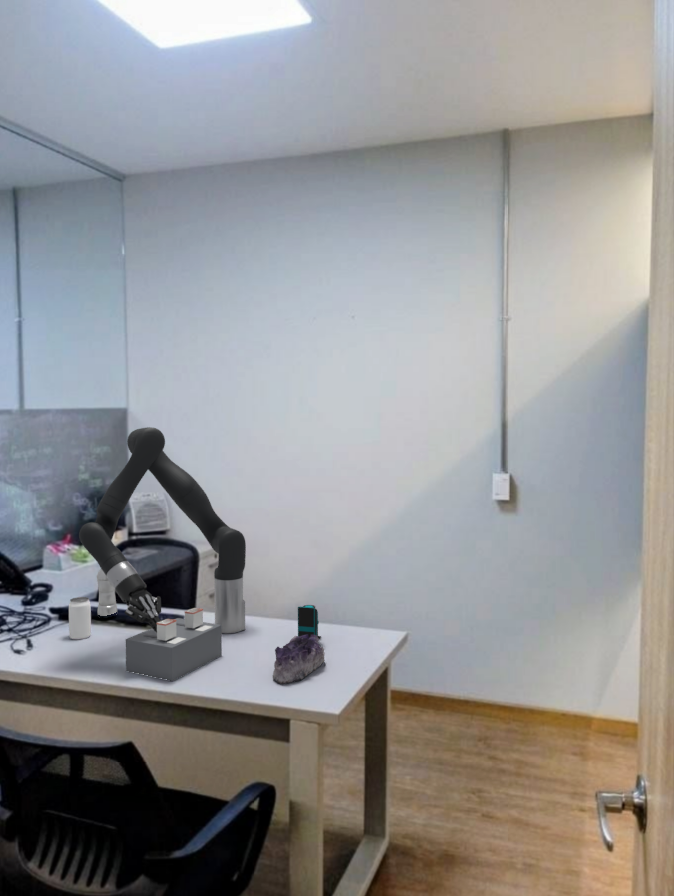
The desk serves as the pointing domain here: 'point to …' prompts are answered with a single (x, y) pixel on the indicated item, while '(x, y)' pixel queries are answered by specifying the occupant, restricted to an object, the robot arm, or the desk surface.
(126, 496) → the robot arm
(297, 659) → the geode
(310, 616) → the surveillance camera
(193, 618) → the switch
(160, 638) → the switch
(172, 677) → the power box
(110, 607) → the plastic bottle
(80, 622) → the can
